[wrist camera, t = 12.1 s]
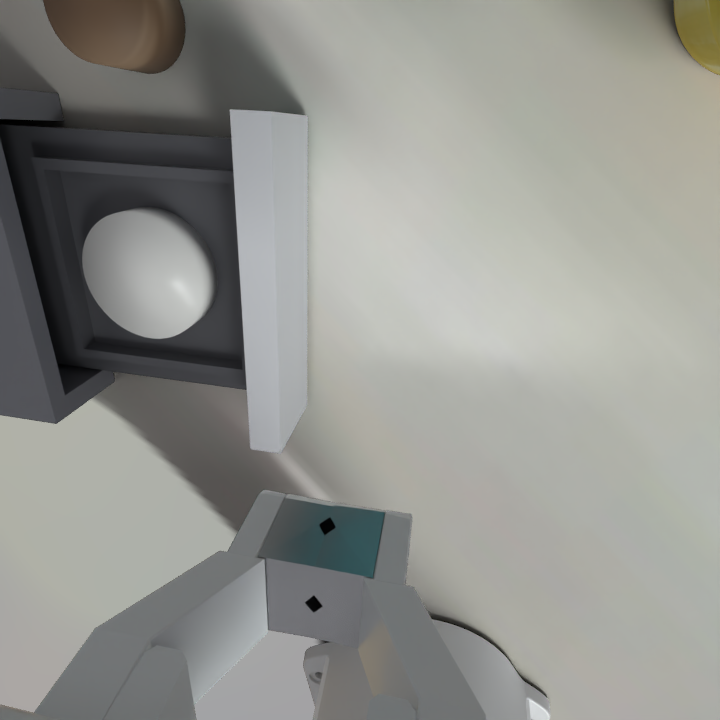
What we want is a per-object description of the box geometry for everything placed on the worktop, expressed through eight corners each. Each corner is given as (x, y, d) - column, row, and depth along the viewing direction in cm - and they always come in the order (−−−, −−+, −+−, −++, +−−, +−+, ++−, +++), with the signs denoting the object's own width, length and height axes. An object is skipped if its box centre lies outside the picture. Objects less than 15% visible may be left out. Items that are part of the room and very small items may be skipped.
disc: (223, 332, 26) (210, 344, 25) (117, 322, 27) (97, 332, 26) (210, 210, 23) (193, 215, 22) (91, 204, 24) (68, 208, 23)
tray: (308, 115, 22) (271, 111, 17) (307, 405, 28) (280, 453, 24) (-41, 97, 24) (-148, 89, 20) (33, 367, 31) (-35, 404, 26)
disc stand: (189, 75, 22) (146, 66, 19) (110, 72, 23) (55, 62, 19) (179, -34, 20) (130, -65, 17) (94, -35, 21) (30, -65, 18)
